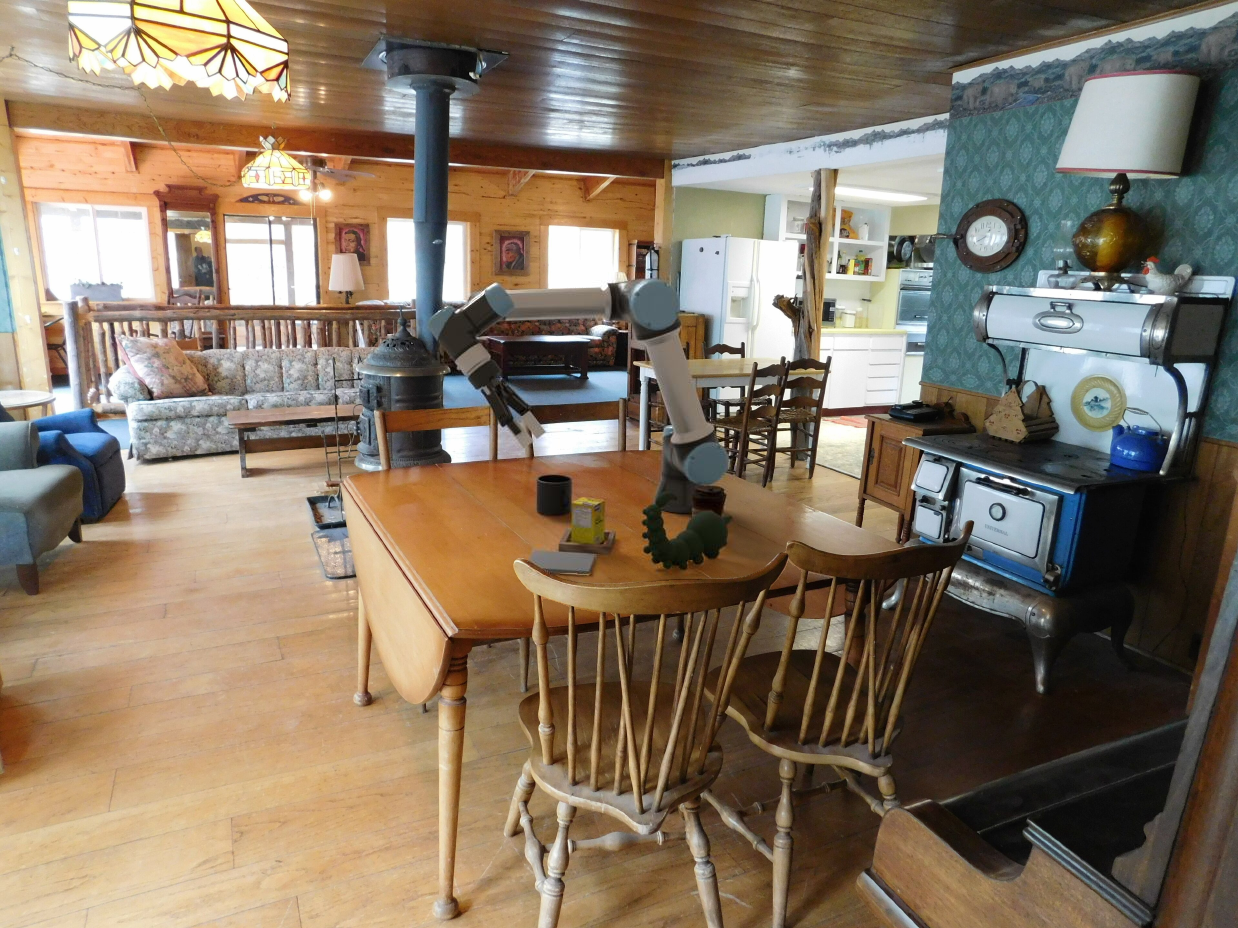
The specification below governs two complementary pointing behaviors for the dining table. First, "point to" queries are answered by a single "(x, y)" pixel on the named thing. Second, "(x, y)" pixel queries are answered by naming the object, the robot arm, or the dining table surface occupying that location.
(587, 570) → the mat
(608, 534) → the frame
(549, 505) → the mug
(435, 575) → the dining table surface
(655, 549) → the toy figurine
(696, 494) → the coffee cup
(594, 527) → the supplement box
